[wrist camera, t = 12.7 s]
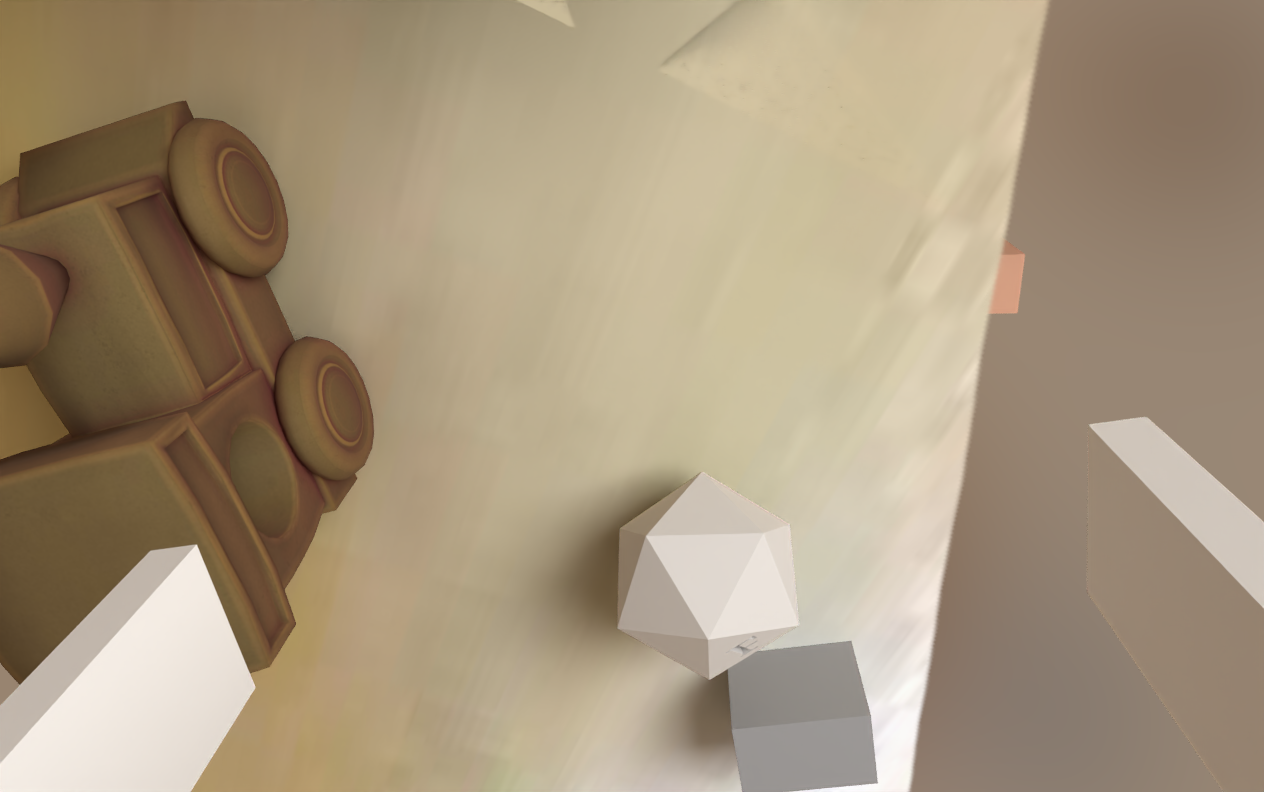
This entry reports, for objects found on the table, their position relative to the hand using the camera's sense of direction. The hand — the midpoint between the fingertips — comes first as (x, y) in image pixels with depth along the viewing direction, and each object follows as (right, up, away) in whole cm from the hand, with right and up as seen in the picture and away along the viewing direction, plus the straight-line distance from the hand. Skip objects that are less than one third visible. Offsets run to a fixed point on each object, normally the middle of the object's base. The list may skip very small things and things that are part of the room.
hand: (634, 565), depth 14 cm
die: (+4, -4, +36) cm, 37 cm away
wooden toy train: (-20, +6, +33) cm, 39 cm away
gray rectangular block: (+9, -14, +40) cm, 43 cm away
